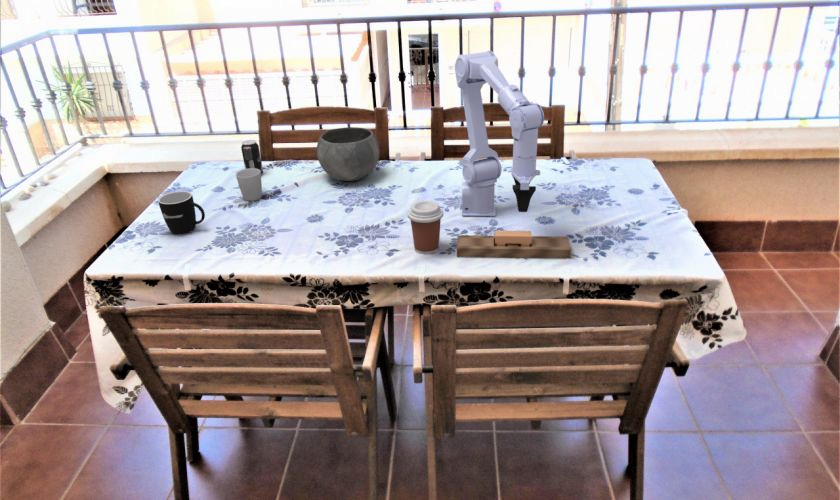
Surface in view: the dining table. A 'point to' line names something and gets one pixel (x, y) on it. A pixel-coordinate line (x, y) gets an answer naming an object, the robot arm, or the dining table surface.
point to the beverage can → (251, 155)
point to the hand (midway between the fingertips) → (522, 204)
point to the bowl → (348, 153)
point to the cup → (250, 183)
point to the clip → (513, 238)
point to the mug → (180, 211)
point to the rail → (513, 247)
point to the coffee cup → (425, 226)
